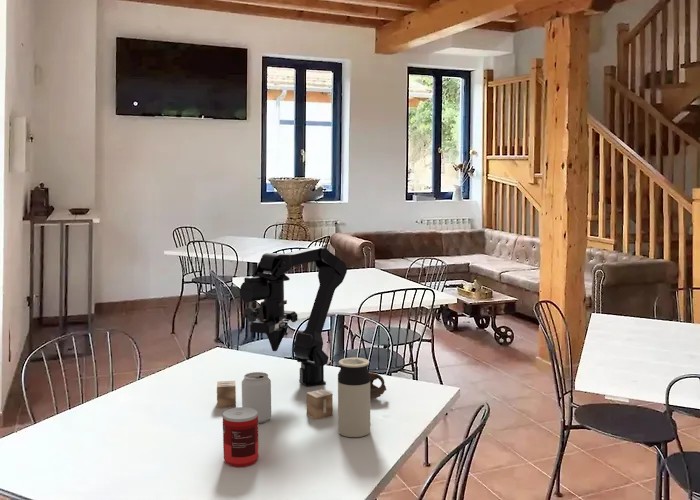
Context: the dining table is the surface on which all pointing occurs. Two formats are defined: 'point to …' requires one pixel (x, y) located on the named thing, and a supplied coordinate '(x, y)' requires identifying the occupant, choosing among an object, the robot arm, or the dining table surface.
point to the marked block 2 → (319, 404)
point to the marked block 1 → (226, 394)
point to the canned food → (240, 436)
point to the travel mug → (354, 397)
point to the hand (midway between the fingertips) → (274, 350)
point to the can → (257, 394)
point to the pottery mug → (374, 389)
